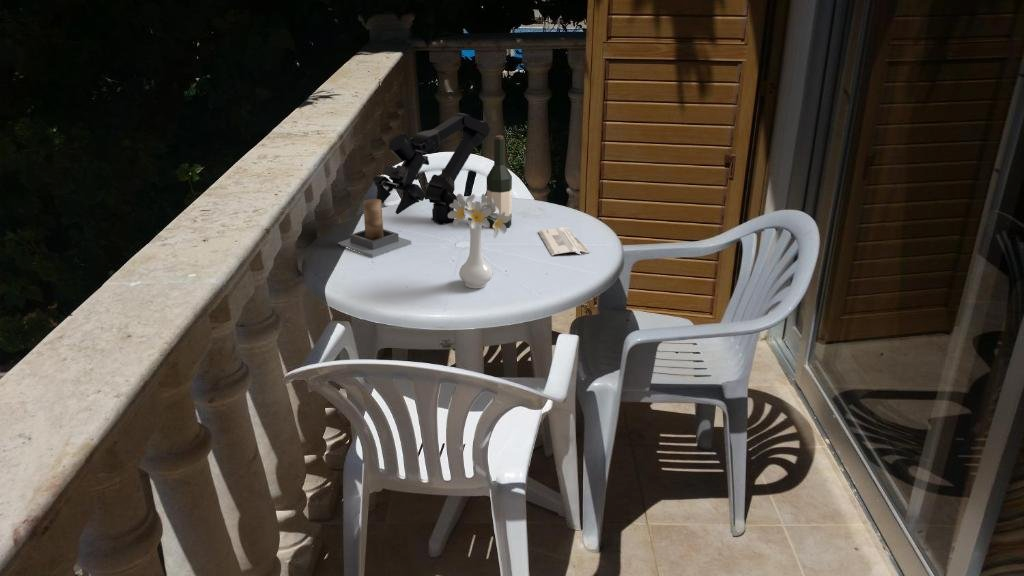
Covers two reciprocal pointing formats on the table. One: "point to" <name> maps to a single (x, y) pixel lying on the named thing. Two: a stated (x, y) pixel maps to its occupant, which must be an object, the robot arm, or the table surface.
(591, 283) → the table surface
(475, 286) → the flower vase
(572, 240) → the newspaper
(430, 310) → the table surface
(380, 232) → the peg
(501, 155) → the wine bottle
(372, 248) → the collar
